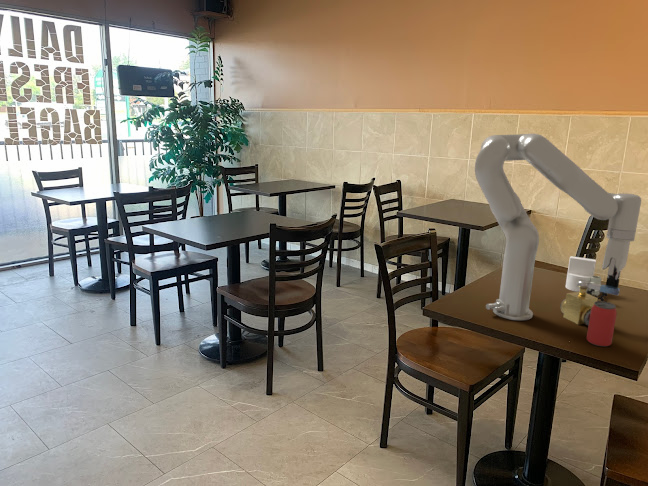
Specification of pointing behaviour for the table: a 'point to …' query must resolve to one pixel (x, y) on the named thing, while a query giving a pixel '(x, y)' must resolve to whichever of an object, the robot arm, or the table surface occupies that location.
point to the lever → (599, 287)
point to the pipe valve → (578, 306)
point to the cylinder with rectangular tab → (579, 272)
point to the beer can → (601, 323)
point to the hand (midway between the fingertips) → (611, 290)
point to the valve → (596, 292)
